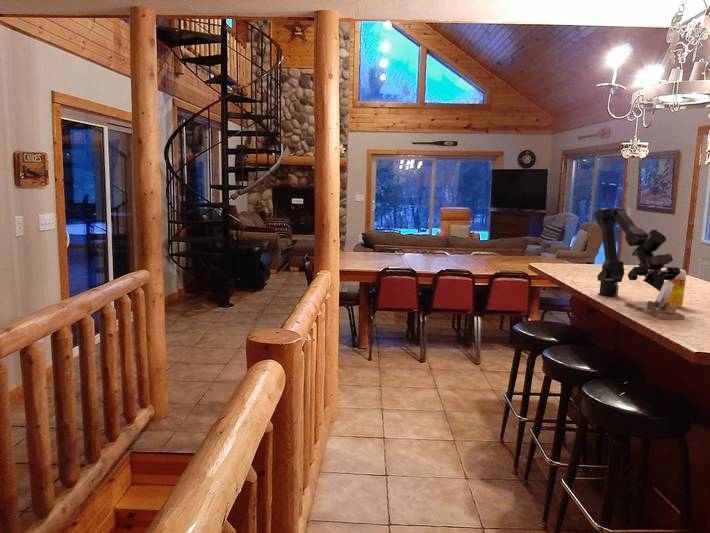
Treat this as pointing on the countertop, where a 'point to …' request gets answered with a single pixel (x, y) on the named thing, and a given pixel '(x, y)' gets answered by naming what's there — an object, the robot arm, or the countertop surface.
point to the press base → (655, 309)
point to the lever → (664, 294)
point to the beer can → (677, 290)
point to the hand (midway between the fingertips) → (662, 291)
